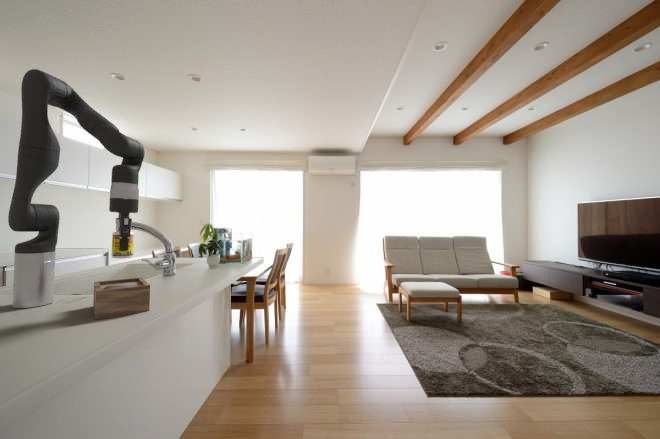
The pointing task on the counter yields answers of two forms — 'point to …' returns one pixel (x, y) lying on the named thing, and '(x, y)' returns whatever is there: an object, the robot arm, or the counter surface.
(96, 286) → the wooden box
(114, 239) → the supplement bottle
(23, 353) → the counter surface
